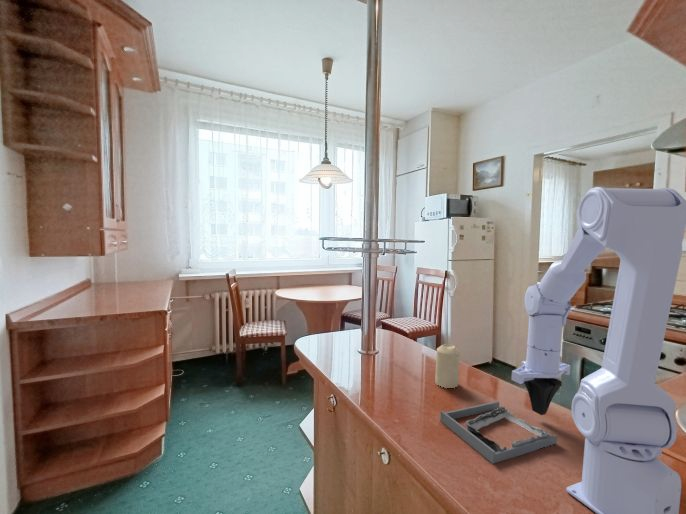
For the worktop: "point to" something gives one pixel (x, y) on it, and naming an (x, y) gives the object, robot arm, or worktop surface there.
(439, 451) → the worktop surface
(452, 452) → the worktop surface
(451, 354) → the candle
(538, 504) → the worktop surface
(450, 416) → the box
